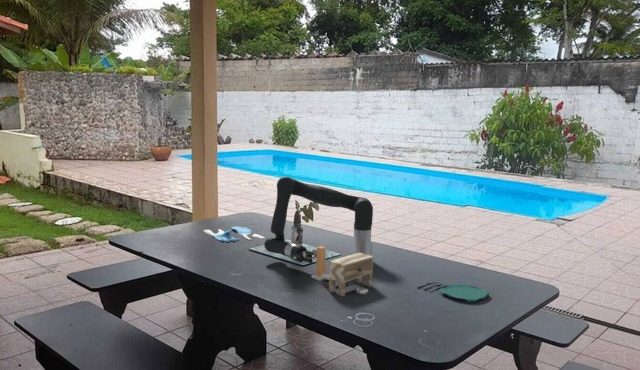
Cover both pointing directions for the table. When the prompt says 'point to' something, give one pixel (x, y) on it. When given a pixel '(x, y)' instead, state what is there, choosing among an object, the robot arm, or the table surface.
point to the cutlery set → (461, 292)
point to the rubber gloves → (227, 237)
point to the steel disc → (362, 291)
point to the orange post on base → (321, 265)
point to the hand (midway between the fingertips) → (318, 259)
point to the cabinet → (350, 271)
